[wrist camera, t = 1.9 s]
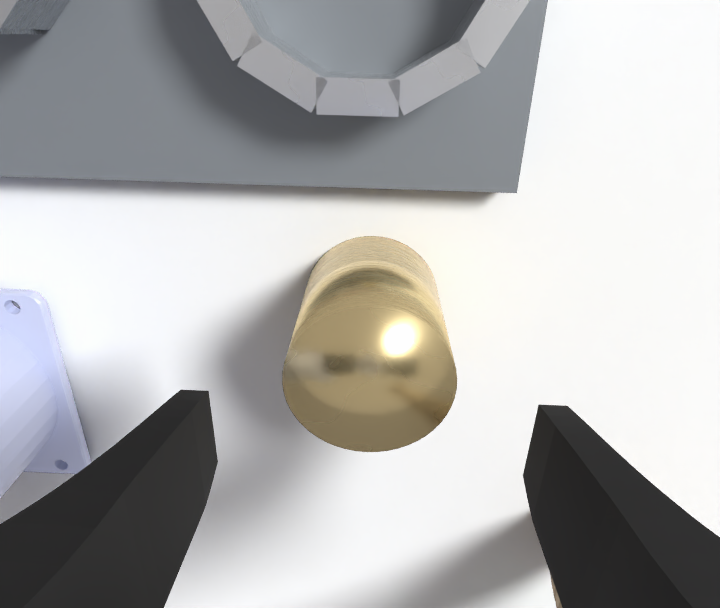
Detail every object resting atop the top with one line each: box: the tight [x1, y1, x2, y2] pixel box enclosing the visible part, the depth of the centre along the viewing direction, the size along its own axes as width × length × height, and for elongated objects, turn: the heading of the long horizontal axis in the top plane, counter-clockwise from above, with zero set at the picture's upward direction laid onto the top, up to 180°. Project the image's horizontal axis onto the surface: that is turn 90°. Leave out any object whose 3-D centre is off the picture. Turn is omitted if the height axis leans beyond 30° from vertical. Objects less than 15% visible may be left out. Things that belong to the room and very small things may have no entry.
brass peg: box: [282, 236, 457, 452], centre depth 15 cm, size 4×4×5 cm
